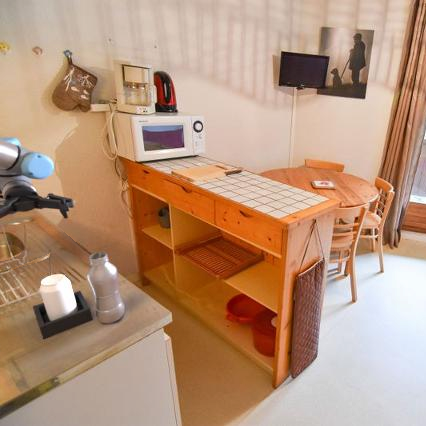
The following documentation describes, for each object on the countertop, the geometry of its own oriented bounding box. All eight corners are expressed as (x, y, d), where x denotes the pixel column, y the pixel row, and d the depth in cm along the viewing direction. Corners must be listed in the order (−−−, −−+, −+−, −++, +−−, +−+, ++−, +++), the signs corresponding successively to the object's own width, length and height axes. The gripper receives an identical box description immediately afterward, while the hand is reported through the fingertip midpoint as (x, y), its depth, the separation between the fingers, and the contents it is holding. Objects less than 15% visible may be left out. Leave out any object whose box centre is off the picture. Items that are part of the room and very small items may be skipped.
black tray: (43, 339, 79) (39, 327, 78) (36, 317, 86) (32, 306, 84) (92, 320, 86) (90, 308, 85) (83, 301, 93) (80, 290, 91)
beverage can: (44, 319, 84) (32, 281, 80) (70, 305, 90) (59, 270, 85) (58, 327, 82) (46, 289, 77) (83, 313, 87) (73, 277, 83)
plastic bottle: (93, 319, 86) (76, 256, 79) (119, 306, 92) (106, 246, 84) (104, 330, 83) (89, 265, 76) (130, 316, 89) (118, 254, 81)
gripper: (74, 199, 105) (92, 221, 92) (-35, 217, 88) (-33, 247, 75) (69, 178, 102) (87, 197, 89) (-45, 192, 85) (-44, 218, 72)
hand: (32, 220), depth 82 cm, fingers open, 13 cm apart
